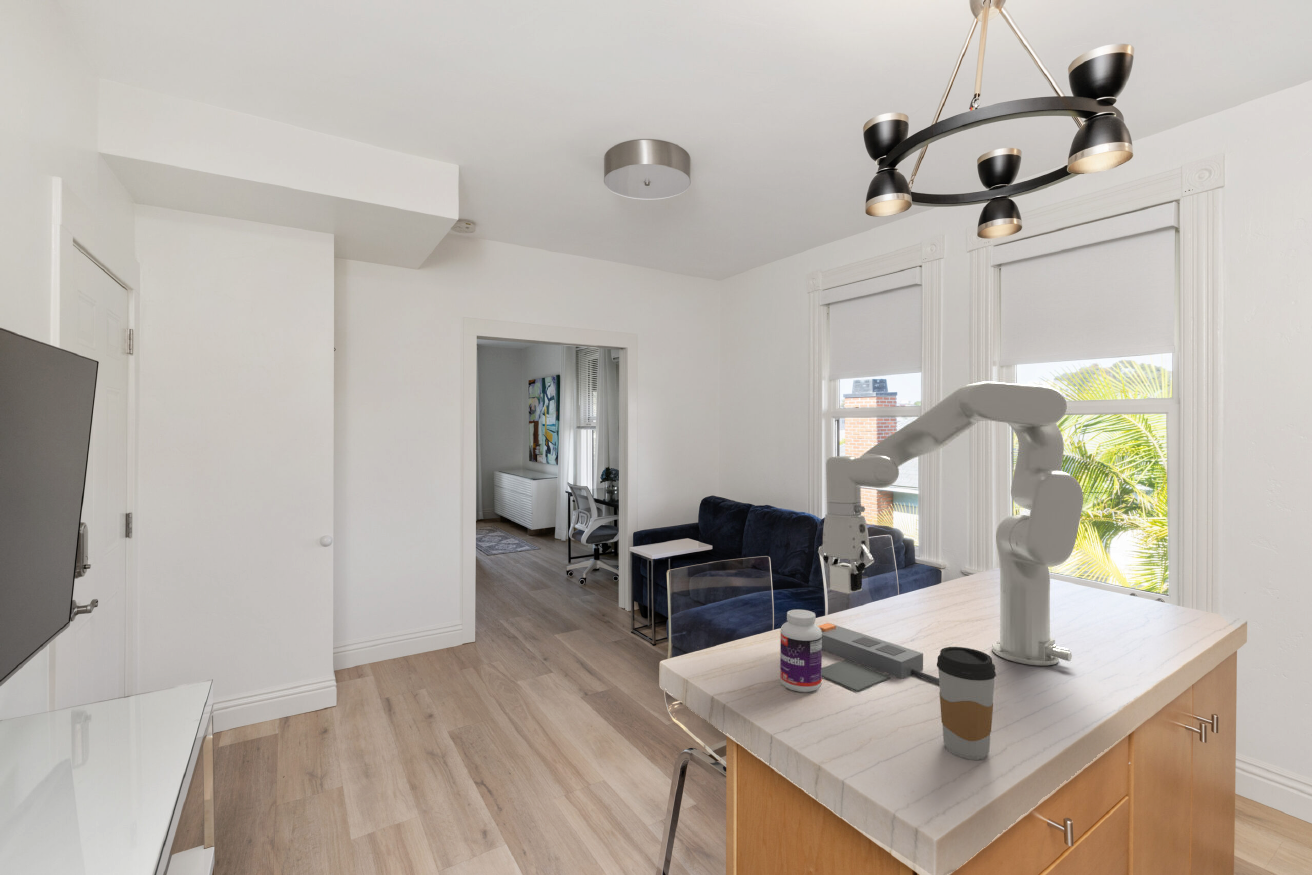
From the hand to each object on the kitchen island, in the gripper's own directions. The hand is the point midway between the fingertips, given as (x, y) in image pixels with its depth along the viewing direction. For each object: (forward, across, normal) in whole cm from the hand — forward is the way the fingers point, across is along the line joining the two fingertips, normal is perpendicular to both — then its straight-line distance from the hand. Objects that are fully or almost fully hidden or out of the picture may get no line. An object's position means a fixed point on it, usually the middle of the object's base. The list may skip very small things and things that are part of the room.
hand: (845, 586), depth 134 cm
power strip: (+15, -11, +1) cm, 18 cm away
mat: (+15, -10, +12) cm, 21 cm away
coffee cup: (+15, -38, +21) cm, 45 cm away
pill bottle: (+15, -6, +24) cm, 29 cm away
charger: (+1, 0, 0) cm, 1 cm away
